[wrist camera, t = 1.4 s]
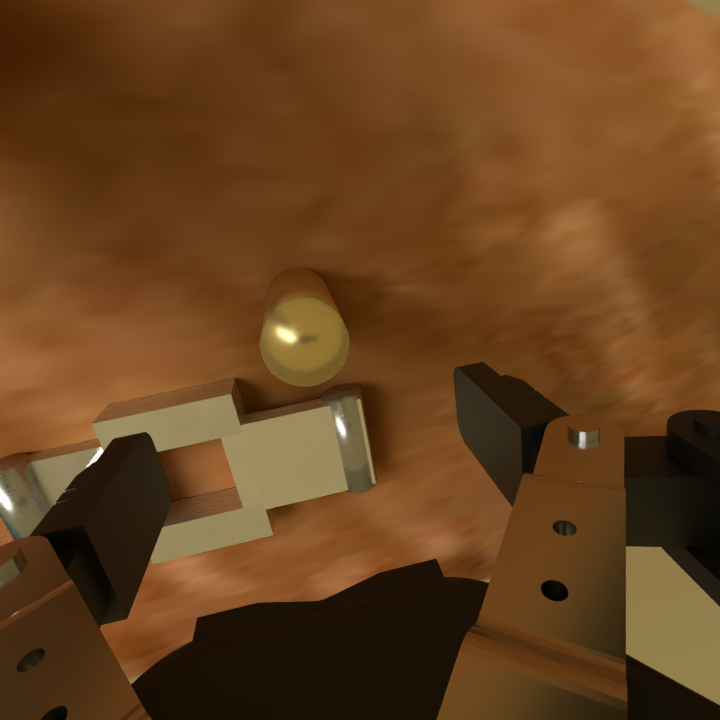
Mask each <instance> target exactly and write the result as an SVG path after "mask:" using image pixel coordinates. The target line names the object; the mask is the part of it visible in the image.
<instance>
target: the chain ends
mask: <svg viewBox="0 0 720 720" xmlns="http://www.w3.org/2000/svg"><path fill="white" fill-rule="evenodd" d="M92 426H93V428H94V431H95V433H96V435H97V438H98V439H95V440H91V441H86V442H82V443H77V444H72V445H68V446H63V447H59V448H54V449H50V450H45V451H40V452H36V453H31V454H27V453H17V454H12V455H9V456H6V457H3V458H1V459H0V517H1V518H2V520H3V522H4V524H5V525H6V527H7V529H8V531H9V532H10V534H11V536H12V538H13V539H14V541H15V540H18V539H21V538H25V537H29V536H30V534H31V533H32V532H33V530H34V529H35V528H36V527H37V525H38V524H39V523H40V522H41V520H42V519H43V518H44V516H45V515H46V514H47V513H48V511H49V510H50V509H51V507H52V506H53V505H56V501H57V500H58V498H59V497H60V496H61V495H62V493H65V489H66V488H67V487H68V486H69V484H70V483H71V482H72V480H73V479H74V478H75V477H76V476H77V475H78V474H79V473H80V472H82V471H83V470H84V469H86V468H87V467H88V466H90V465H91V464H92V463H94V462H96V461H97V460H98V458H99V457H100V455H101V454H102V453H103V451H104V450H105V449H106V447H107V446H108V445H109V443H110V442H111V441H112V440H113V439H114V438H118V437H123V436H128V435H133V434H137V433H142V432H147V433H148V434H149V435H150V436H151V438H152V440H153V442H154V445H155V448H156V450H157V452H160V451H164V450H169V449H173V448H178V447H182V446H187V445H191V444H196V443H200V442H205V441H209V440H213V439H218V438H221V440H222V443H223V447H224V450H225V453H226V456H227V459H228V462H229V465H230V468H231V471H232V474H233V477H234V481H235V484H236V487H234V488H230V489H226V490H221V491H217V492H213V493H209V494H204V495H200V496H196V497H191V498H187V499H183V500H179V501H174V502H171V505H170V509H169V512H168V514H167V517H166V520H165V522H164V525H163V527H162V530H161V532H160V535H159V538H158V540H157V543H156V545H155V548H154V551H153V553H152V556H151V558H150V559H151V561H152V563H153V564H156V563H160V562H165V561H169V560H173V559H177V558H181V557H185V556H189V555H193V554H197V553H201V552H206V551H210V550H214V549H218V548H222V547H226V546H230V545H234V544H238V543H242V542H247V541H251V540H255V539H259V538H263V537H267V536H271V535H273V529H274V508H275V507H279V506H283V505H288V504H292V503H296V502H300V501H304V500H309V499H313V498H317V497H321V496H325V495H330V494H334V493H338V492H342V491H346V492H348V493H362V492H365V491H368V490H370V489H371V488H372V487H374V485H375V484H376V482H377V475H376V469H375V464H374V459H373V453H372V448H371V442H370V437H369V431H368V426H367V420H366V415H365V409H364V404H363V399H362V393H361V389H360V387H358V386H356V385H351V384H345V385H339V386H335V387H332V388H330V389H328V390H326V391H325V392H324V393H323V394H322V396H321V399H317V400H312V401H308V402H303V403H299V404H294V405H290V406H285V407H280V408H276V409H271V410H267V411H266V410H263V411H258V412H254V413H249V414H246V412H245V409H244V406H243V402H242V399H241V395H240V392H239V388H238V385H237V382H236V378H232V379H228V380H223V381H218V382H214V383H209V384H204V385H199V386H195V387H190V388H185V389H180V390H176V391H171V392H166V393H162V394H157V395H152V396H147V397H143V398H138V399H133V400H129V401H124V402H119V403H114V404H110V405H107V407H106V408H105V409H104V410H103V411H102V412H101V414H100V415H99V416H98V417H97V418H96V419H95V421H94V422H93V423H92Z"/></svg>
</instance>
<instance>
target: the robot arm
mask: <svg viewBox="0 0 720 720" xmlns="http://www.w3.org/2000/svg"><path fill="white" fill-rule="evenodd" d="M454 387H455V397H456V408H457V419H458V425H459V429H460V433H461V436H462V438H463V440H464V442H465V444H466V445H467V446H468V448H469V449H470V450H471V452H472V453H473V454H474V456H475V457H476V458H477V460H478V461H479V463H480V464H481V465H482V467H483V468H484V469H485V471H486V472H487V473H488V475H489V476H490V477H491V479H492V480H493V481H494V483H495V484H496V485H497V487H498V488H499V490H500V491H501V492H502V494H503V495H504V496H505V498H506V499H507V500H508V502H509V503H510V504H511V506H512V507H513V509H512V512H511V515H510V518H509V521H508V525H507V528H506V531H505V534H504V537H503V541H502V544H501V547H500V550H499V553H498V557H497V560H496V563H495V566H494V569H493V573H492V576H491V579H490V582H489V583H487V582H483V581H479V580H474V579H469V578H460V577H444V576H443V574H442V571H441V569H440V566H439V564H438V562H437V559H433V560H429V561H425V562H421V563H417V564H413V565H409V566H405V567H401V568H397V569H393V570H389V571H385V572H381V573H378V574H376V575H374V576H372V577H370V578H368V579H366V580H364V581H362V582H360V583H357V584H355V585H353V586H351V587H349V588H347V589H345V590H343V591H341V592H339V593H337V594H335V595H333V596H331V597H329V598H326V599H324V600H320V601H310V602H269V603H255V604H251V605H247V606H243V607H239V608H235V609H231V610H227V611H223V612H219V613H215V614H211V615H207V616H203V617H199V618H197V623H196V627H195V632H194V636H193V641H191V642H189V643H187V644H185V645H183V646H181V647H180V648H178V649H176V650H175V651H173V652H171V653H170V654H168V655H167V656H165V657H164V658H163V659H161V660H160V661H158V662H157V663H155V664H154V665H153V666H152V667H151V668H149V669H148V670H147V671H146V672H145V673H143V674H142V675H141V676H140V677H139V678H138V679H137V680H136V681H135V682H134V683H132V684H130V682H129V680H128V679H127V677H126V675H125V673H124V671H123V670H122V668H121V666H120V664H119V663H118V661H117V659H116V657H115V655H114V654H113V652H112V650H111V648H110V647H109V645H108V643H107V641H106V639H105V638H104V636H103V634H102V632H101V630H100V629H99V628H100V626H101V625H103V624H108V623H112V622H116V621H120V620H124V619H127V618H128V615H129V612H130V610H131V607H132V605H133V602H134V600H135V597H136V594H137V592H138V589H139V587H140V584H141V582H142V579H143V576H144V574H145V571H146V569H147V566H148V563H149V561H150V558H151V556H152V553H153V551H154V548H155V545H156V543H157V540H158V538H159V535H160V532H161V530H162V527H163V525H164V522H165V520H166V517H167V514H168V512H169V509H170V505H171V492H170V486H169V483H168V480H167V477H166V475H165V472H164V469H163V467H162V464H161V461H160V458H159V456H158V453H157V450H156V448H155V445H154V442H153V440H152V438H151V436H150V435H149V434H148V433H147V432H142V433H137V434H133V435H128V436H123V437H118V438H114V439H113V440H112V441H111V442H110V443H109V445H108V446H107V447H106V449H105V450H104V451H103V453H102V454H101V455H100V457H99V458H98V460H97V461H96V462H94V463H92V464H91V465H90V466H88V467H87V468H86V469H84V470H83V471H82V472H80V473H79V474H78V475H77V476H76V477H75V478H74V479H73V480H72V482H71V483H70V484H69V486H68V487H67V488H66V489H65V493H62V495H61V496H60V497H59V498H58V500H57V501H56V505H53V506H52V507H51V509H50V510H49V511H48V513H47V514H46V515H45V516H44V518H43V519H42V520H41V522H40V523H39V524H38V525H37V527H36V528H35V529H34V530H33V532H32V533H31V534H30V536H29V537H25V538H21V539H18V540H15V541H12V542H10V543H7V544H5V545H3V546H1V547H0V720H720V705H718V704H716V703H715V702H713V701H711V700H709V699H707V698H705V697H704V696H702V695H700V694H698V693H696V692H694V691H693V690H691V689H689V688H687V687H685V686H684V685H681V684H680V683H678V682H676V681H674V680H673V679H671V678H669V677H667V676H665V675H663V674H662V673H659V672H658V671H656V670H654V669H652V668H651V667H649V666H647V665H645V664H643V663H641V662H640V661H638V660H636V659H634V658H632V657H631V656H629V655H627V654H626V546H644V547H662V548H663V549H664V551H665V552H666V553H667V554H668V555H669V556H670V557H671V558H672V559H673V560H674V561H675V562H676V563H677V564H678V565H679V566H680V567H681V568H682V569H683V570H684V571H685V572H686V573H687V574H688V575H689V576H690V577H691V578H692V579H693V580H694V581H695V582H696V583H697V584H698V585H699V586H700V587H701V588H702V589H703V590H704V591H705V592H706V593H707V594H708V595H709V596H710V597H711V598H712V599H713V600H714V601H715V602H716V603H717V604H718V605H719V606H720V412H718V411H710V410H688V411H682V412H678V413H676V414H674V415H672V416H670V418H669V419H668V421H667V431H666V436H646V437H624V433H623V431H622V430H621V429H620V427H618V426H617V425H616V424H614V423H612V422H610V421H608V420H605V419H602V418H599V417H594V416H587V415H571V416H570V415H568V414H567V413H566V412H564V411H563V410H562V409H560V408H559V407H558V406H556V405H555V404H554V403H552V402H551V401H550V400H548V399H547V398H544V396H543V395H542V394H540V393H539V392H538V391H535V390H534V388H532V387H531V386H530V385H528V384H527V383H526V382H524V381H523V380H520V379H517V378H514V377H511V376H508V375H503V376H500V375H499V374H498V373H496V372H495V371H494V370H493V369H492V368H490V367H489V366H488V365H487V364H485V363H484V362H479V363H475V364H470V365H465V366H460V367H456V368H455V369H454Z"/></svg>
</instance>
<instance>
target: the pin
mask: <svg viewBox="0 0 720 720" xmlns="http://www.w3.org/2000/svg"><path fill="white" fill-rule="evenodd" d="M260 351H261V356H262V359H263V361H264V363H265V365H266V367H267V368H268V370H269V371H270V372H271V373H272V374H273V375H274V376H275V377H277V378H278V379H280V380H281V381H283V382H285V383H288V384H291V385H295V386H302V387H305V386H314V385H318V384H321V383H323V382H326V381H327V380H329V379H331V378H332V377H333V376H335V375H336V374H337V373H338V372H339V370H340V369H341V368H342V366H343V365H344V363H345V361H346V359H347V356H348V353H349V335H348V331H347V329H346V326H345V324H344V322H343V320H342V318H341V316H340V313H339V311H338V309H337V307H336V305H335V303H334V301H333V298H332V296H331V294H330V292H329V290H328V288H327V285H326V284H325V282H324V280H323V279H322V278H321V277H320V276H319V275H318V274H317V273H315V272H314V271H312V270H309V269H306V268H301V267H296V268H290V269H287V270H285V271H283V272H281V273H280V274H279V275H278V276H277V277H276V278H275V279H274V280H273V282H272V284H271V286H270V288H269V293H268V298H267V304H266V309H265V315H264V320H263V326H262V331H261V337H260Z"/></svg>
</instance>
